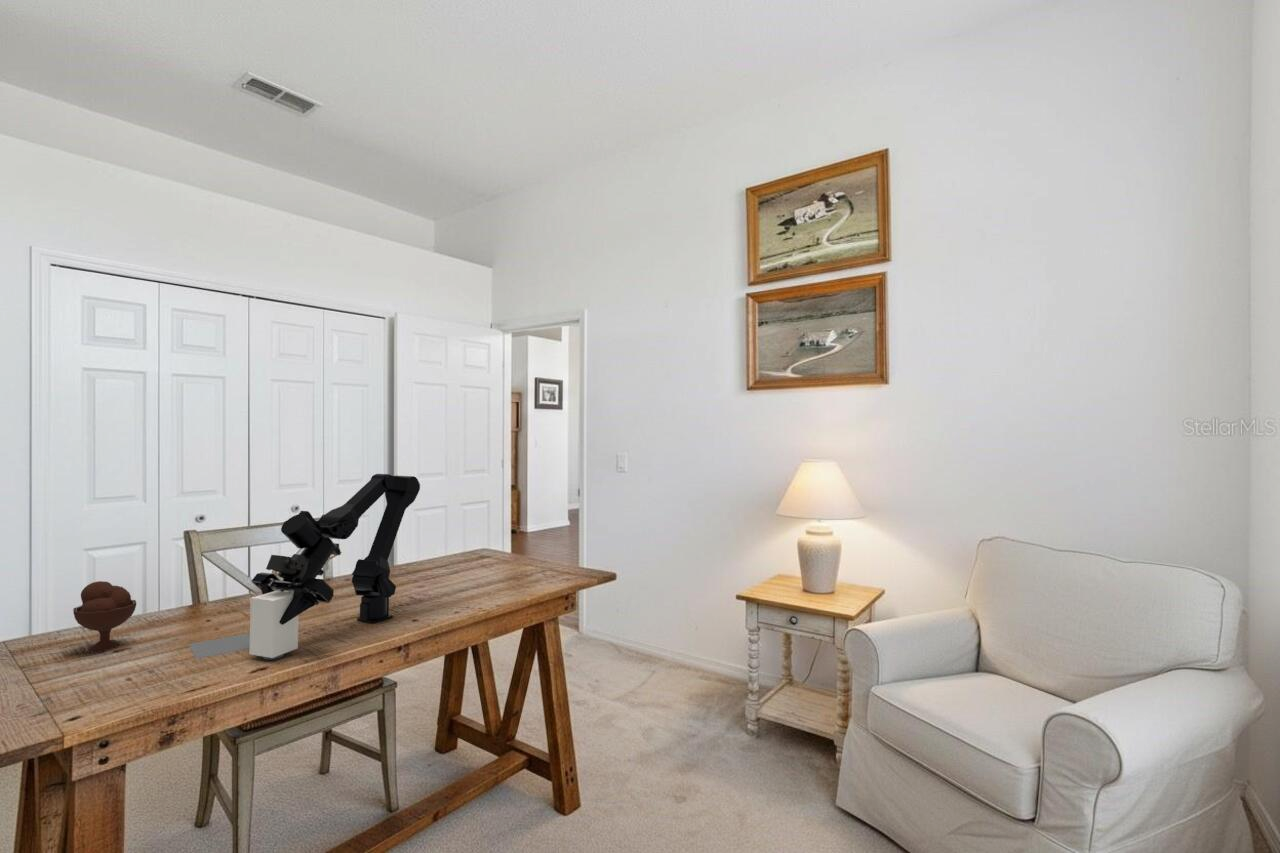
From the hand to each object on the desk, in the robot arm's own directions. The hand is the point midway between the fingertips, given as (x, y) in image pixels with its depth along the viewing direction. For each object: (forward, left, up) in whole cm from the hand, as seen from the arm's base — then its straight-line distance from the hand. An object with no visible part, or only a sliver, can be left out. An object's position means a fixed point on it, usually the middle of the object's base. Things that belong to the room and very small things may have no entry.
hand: (269, 622), depth 133 cm
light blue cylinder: (-1, 0, -8) cm, 8 cm away
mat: (0, -16, -8) cm, 18 cm away
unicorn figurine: (-35, -37, -8) cm, 52 cm away
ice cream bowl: (+13, -38, -8) cm, 41 cm away
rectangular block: (-1, 0, -7) cm, 7 cm away
